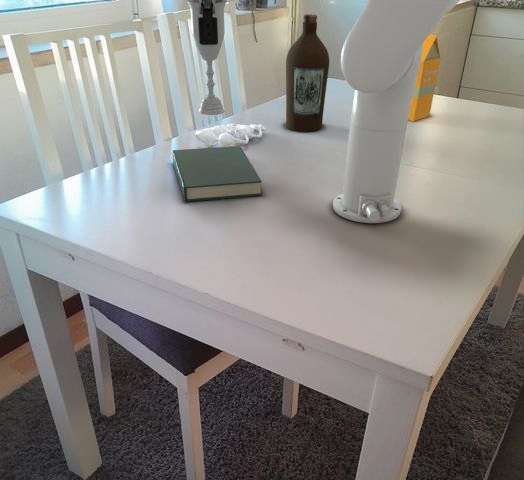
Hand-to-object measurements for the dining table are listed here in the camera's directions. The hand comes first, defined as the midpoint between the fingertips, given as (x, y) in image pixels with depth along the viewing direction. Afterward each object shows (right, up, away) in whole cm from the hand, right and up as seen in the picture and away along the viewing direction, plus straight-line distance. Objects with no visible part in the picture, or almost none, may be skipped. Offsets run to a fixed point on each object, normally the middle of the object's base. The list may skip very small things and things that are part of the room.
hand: (208, 39), depth 97 cm
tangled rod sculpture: (+2, -4, +36) cm, 36 cm away
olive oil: (+20, +3, +45) cm, 50 cm away
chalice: (0, -10, +8) cm, 12 cm away
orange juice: (+51, +10, +55) cm, 75 cm away
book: (0, -20, +16) cm, 25 cm away
